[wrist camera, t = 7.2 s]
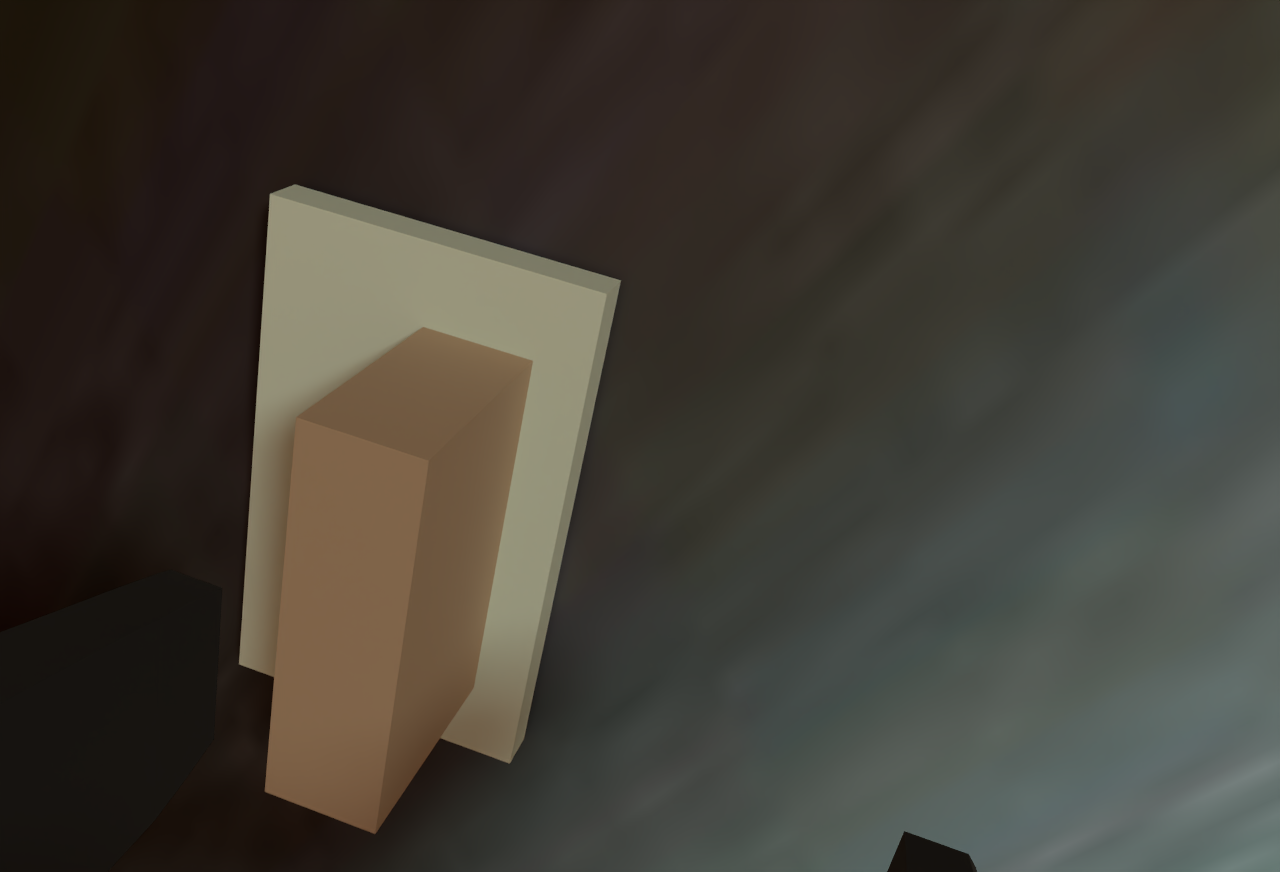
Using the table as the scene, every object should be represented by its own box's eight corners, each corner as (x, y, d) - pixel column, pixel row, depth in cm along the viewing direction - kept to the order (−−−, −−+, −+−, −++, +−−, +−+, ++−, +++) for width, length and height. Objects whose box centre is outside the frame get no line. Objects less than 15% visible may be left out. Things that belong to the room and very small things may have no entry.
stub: (524, 738, 24) (420, 919, 19) (260, 642, 25) (105, 796, 20) (620, 280, 19) (514, 383, 15) (294, 184, 20) (106, 255, 16)
